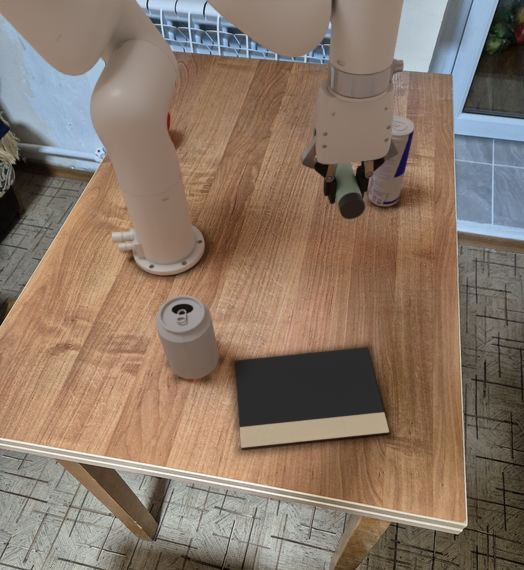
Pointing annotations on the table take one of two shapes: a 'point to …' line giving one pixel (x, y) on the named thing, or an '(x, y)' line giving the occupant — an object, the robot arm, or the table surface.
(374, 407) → the book
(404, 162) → the beverage can
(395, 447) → the table surface
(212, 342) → the can
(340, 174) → the vial
